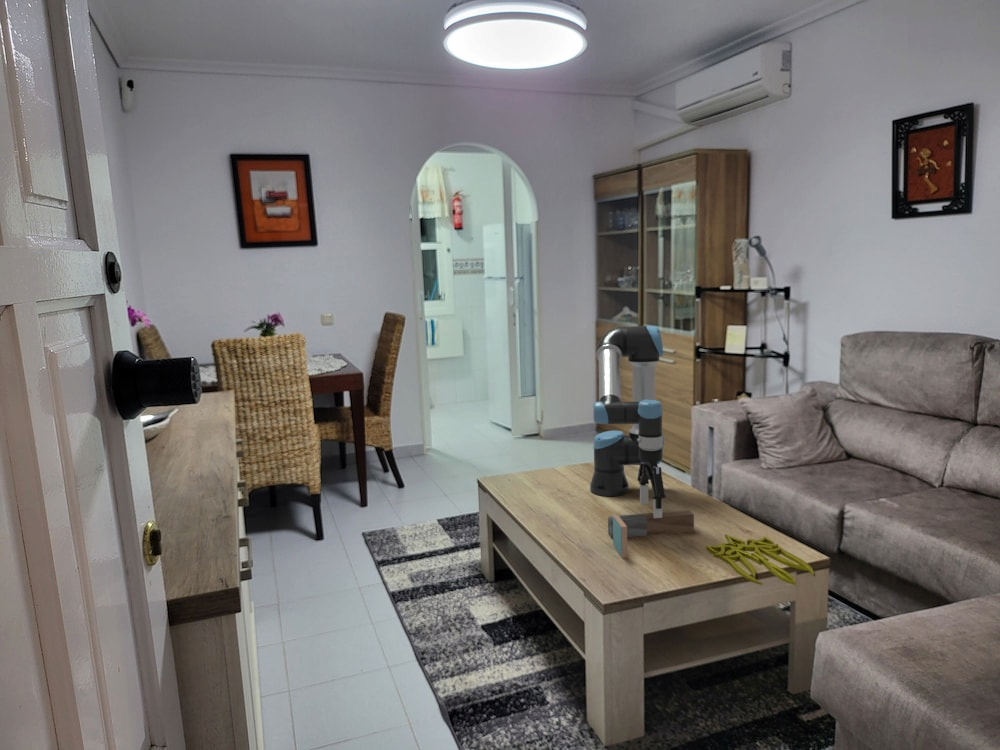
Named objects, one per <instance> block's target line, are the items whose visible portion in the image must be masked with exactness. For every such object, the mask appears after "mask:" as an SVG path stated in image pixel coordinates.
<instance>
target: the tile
mask: <svg viewBox="0 0 1000 750" xmlns="http://www.w3.org/2000/svg"><path fill="white" fill-rule="evenodd" d="M612 516H613V538H612V539H613V542H612V543H613V544H612V545H613V546H614V548H615V549H616V551H617V553H618V554H619V556H620V557H621V558H622V559H624V558H628V537H627V526H626V525H625V523H624V522H623V521H622V520H621V518H620V517H619V516H620V515H619V514H612Z"/></svg>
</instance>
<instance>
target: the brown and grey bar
mask: <svg viewBox="0 0 1000 750" xmlns="http://www.w3.org/2000/svg"><path fill="white" fill-rule="evenodd" d="M618 516H619V517H620V518H621V520H622V521H623V522H624V523H625V525H626V526H627V538H631V537H642V536H643V537H644V536H655V535H656V536H657V535H666V534H678V533H679V534H681V533H690V532H692V533H693V532H695V517H694V516H695V514H694V512H692V511H691V510H690V509H686V510H685V509H684V510H672V511H671V510H670V511H662V518H653V512H647V513H635V514H634V513H633V514H623V515H618ZM607 532H608V533H607V534H608V535H609V537H610V539H613V515H610V516H609V515H608V516H607Z"/></svg>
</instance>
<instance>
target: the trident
mask: <svg viewBox="0 0 1000 750" xmlns="http://www.w3.org/2000/svg"><path fill="white" fill-rule="evenodd" d="M724 538H725V539H726V541H727V542H728V543H727V542H721V544H720V545H708V544H706V545H705V549H706V551H708V552H709V553H710V554H712V555H713V557H714V558H718V559H719V560H721V561H722V562H724V563H726V564H727V565H728V564H729V565H730V566H731V567H732V568H733V569H734V572H736V573H737V574H738V575H740V576H741V577H743V578H744V579H746V580H748V581H751V582H753V583H754V584H755V583H756V584H760V585H763V582H762V581H760V580H758V579H756V572H757V571H756V569H755V566H754V565H753V563H751V562H750V561H749V560H750V559H751V561H752V562H755V563H756V564H758V565H760V564H761V565H762V566H763V565H764V566H763V567H765V568H766V569H767V570H768V571H769V572H770V573H771V574H772V575H773V576H775V577H777V578H778V579H779V580H781V581H784V582H786V583H788V584H790V585H794V586H796V585H797V581H796V579H795V578H794V577H793V576H792V575H791V574H790V573H789V571H786V570H785V569H783V568H782V567H780V566H778V565H776V564H774V563H773V562H771V561H769V560H770V559H772V560H773V561H776V562H778V563H780V564H782V565H785V566H787V567H789V568H793V569H796V570H800V571H805V572H809V573H811V575H813V576H814V575H815V572H814V569H813V568H812V567H811V565H810V564H808V563H807V562H806V561H804V560H803V559H802V558H801V557H799V556H797V555H795V554H793V553H791V552H788V551H787V550H785V549H784V548H782V547H781V546H779V543H775V542H774V541H773V540H772V539H770V538H768V537H766V536H763V538H760V539H753V538H748V539H746V541H745V540H743V539H741V538H738V537H735V536H731V535H729V534H727V533H725V534H724ZM749 551H750V552H751V551H752V552H751V553H749ZM753 551H754V553H753ZM780 554H781V555H782V556H781V555H780ZM768 557H769V558H770V559H769V558H768ZM784 557H785V558H784ZM739 559H740V560H739ZM733 560H736V561H739V563H741V565H743V566H744V567H745V568H746V569H747V570H748V571H749V572H750V574H751V575H750V574H749V573H748V572H746V571H745V570H744V569H743V568H742V567H740V565H739V564H737V562H736V561H733ZM729 565H728V566H729ZM730 566H729V567H730ZM731 567H730V568H731ZM732 568H731V569H732ZM733 569H732V570H733Z"/></svg>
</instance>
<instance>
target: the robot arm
mask: <svg viewBox="0 0 1000 750" xmlns="http://www.w3.org/2000/svg"><path fill="white" fill-rule="evenodd" d="M662 340H663V339H662V334H661V330H660V328H659V327H658V326H656V325H655V326H654V325H638V326H637V325H634V326H633V325H631V326H615V327H613V328H611V329H609V330H608V331H607V332H606V333H604V334H603V335H602V337H601V338H600V340H599V341H598V342H597V346H596V350H595V351H596V352H595V356H596V359H597V361H598V401H595V402H594V403H593V422H594V423H595V424H597V425H598V424H600V425H625V424H626V425H632V427H631V428H630V429H629V431H628V433H629V435H628V434H627V435H625V434H624V432H623V431H622V430H608V431H602V432H601V433H598V434H596V435H595V436H594V438H593V446H592V447H593V463H594V465H593V467H594V469H593V470H594V471H593V475H592V478H591V481H590V484H589V489H590V492H591V493H592V494H593V495H594V494H595V495H597V496H601V497H602V496H603V497H617V496H622V495H625V494H627V493H629V491H630V490H629V489H630V486H629V481H628V479H627V476H626V473H625V466H639V468H638V473H637V482H638V483H639V504H640V505H649V484H651V488H652V492H653V497H652V503H653V505H652V506H653V507H652V508H653V510H652V511H653V512H652V513H653V518H662V512H663V499H665V498H666V495H665V488H664V481H663V477H662V476H663V475H662V467H661V466H659V464H661V462H662V460H663V453H664V443H665V442H664V441H665V440H664V439H665V438H664V435H663V432H662V431H663V430H662V429H663V406H662V405H663V404H662V402H661V401H659V400H656V365H657V364H658V363H659V362H660V358H661V357H663V356H664V347H663V341H662ZM624 357H625V358H628V360H627V361H628V363H629V364H630V365H631V367H632V401H622V398H621V395H622V394H621V392H622V391H621V370H620V369H621V366H620V360H621V359H622V358H624ZM649 480H650V482H649Z"/></svg>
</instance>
